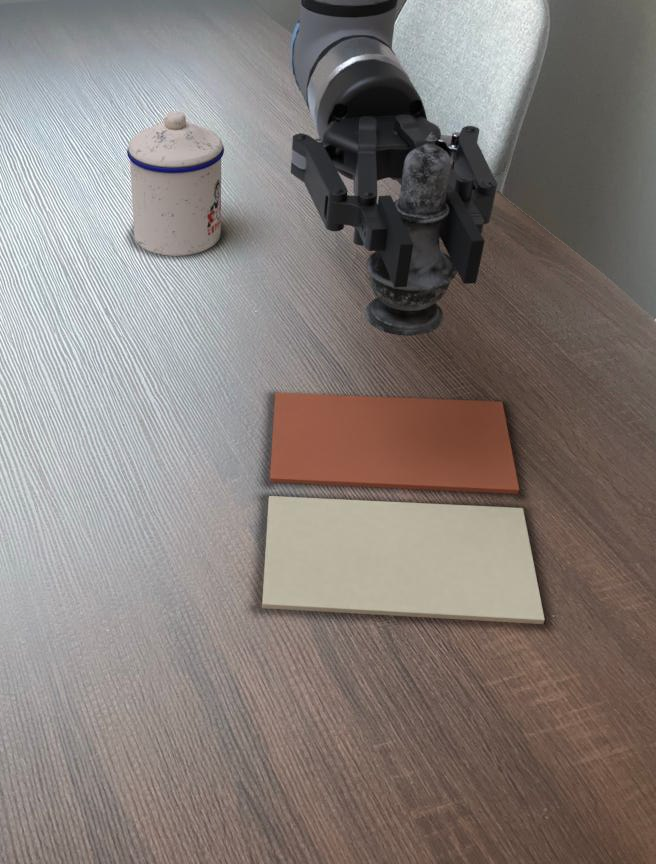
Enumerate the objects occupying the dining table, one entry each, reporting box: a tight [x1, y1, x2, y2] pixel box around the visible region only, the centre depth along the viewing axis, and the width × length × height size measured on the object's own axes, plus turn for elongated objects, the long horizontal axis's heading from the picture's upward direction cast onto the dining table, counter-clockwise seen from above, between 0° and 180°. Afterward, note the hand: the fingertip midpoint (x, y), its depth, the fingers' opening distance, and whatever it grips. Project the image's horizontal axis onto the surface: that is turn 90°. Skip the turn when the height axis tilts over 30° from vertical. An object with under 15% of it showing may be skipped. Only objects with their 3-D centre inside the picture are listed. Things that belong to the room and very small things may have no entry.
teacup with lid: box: [126, 110, 225, 257], centre depth 99 cm, size 12×9×12 cm
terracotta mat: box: [269, 392, 520, 495], centre depth 79 cm, size 18×11×1 cm, turn 84°
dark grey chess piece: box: [364, 132, 458, 337], centre depth 65 cm, size 6×6×12 cm
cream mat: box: [261, 495, 546, 625], centre depth 70 cm, size 18×11×1 cm, turn 84°
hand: (438, 264), depth 61 cm, fingers closed on dark grey chess piece, 3 cm apart
